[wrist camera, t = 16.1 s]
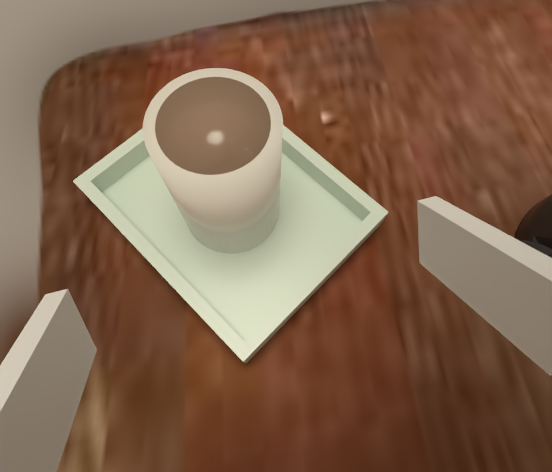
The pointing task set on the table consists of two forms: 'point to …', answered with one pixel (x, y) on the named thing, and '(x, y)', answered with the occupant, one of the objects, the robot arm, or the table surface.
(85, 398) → the table surface
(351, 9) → the table surface
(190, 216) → the cup
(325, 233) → the tray
